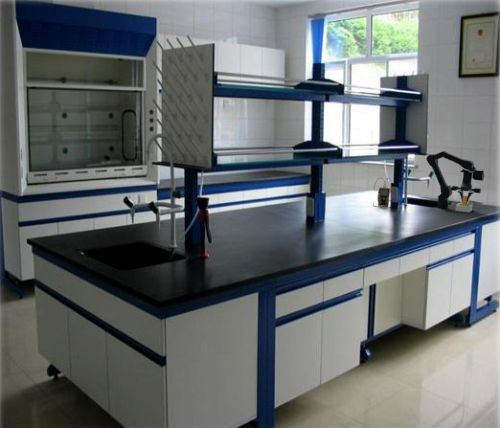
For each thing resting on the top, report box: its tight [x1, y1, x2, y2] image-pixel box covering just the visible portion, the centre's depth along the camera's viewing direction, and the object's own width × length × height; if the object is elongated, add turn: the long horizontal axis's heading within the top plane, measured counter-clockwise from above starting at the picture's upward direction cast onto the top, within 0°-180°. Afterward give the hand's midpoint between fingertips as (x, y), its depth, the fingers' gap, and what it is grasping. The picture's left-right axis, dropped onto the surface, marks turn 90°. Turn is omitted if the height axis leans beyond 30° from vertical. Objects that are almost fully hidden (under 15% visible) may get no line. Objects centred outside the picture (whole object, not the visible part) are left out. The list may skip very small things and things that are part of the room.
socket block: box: [455, 202, 474, 213], centre depth 385 cm, size 9×10×4 cm
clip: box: [467, 199, 484, 206], centre depth 383 cm, size 2×11×2 cm, turn 28°
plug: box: [458, 195, 471, 206], centre depth 384 cm, size 6×6×9 cm
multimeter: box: [372, 177, 393, 208], centre depth 388 cm, size 15×10×20 cm
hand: (464, 201), depth 384 cm, fingers closed on plug, 3 cm apart
